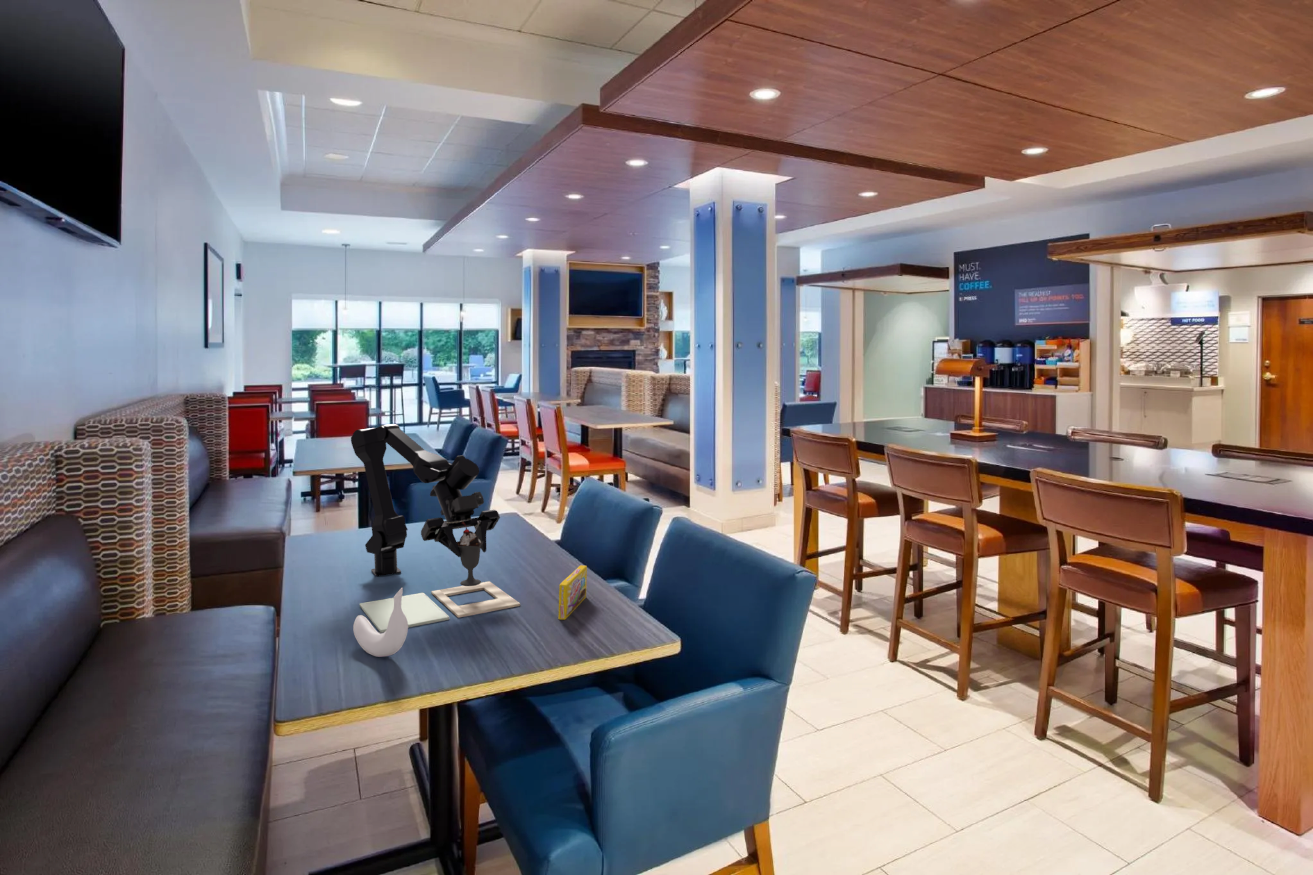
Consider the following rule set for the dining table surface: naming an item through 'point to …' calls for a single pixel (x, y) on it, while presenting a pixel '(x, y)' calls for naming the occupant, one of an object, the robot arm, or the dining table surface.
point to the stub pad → (404, 611)
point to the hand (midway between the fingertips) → (472, 553)
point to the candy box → (572, 592)
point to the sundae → (469, 555)
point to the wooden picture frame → (498, 603)
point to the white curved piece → (390, 638)
